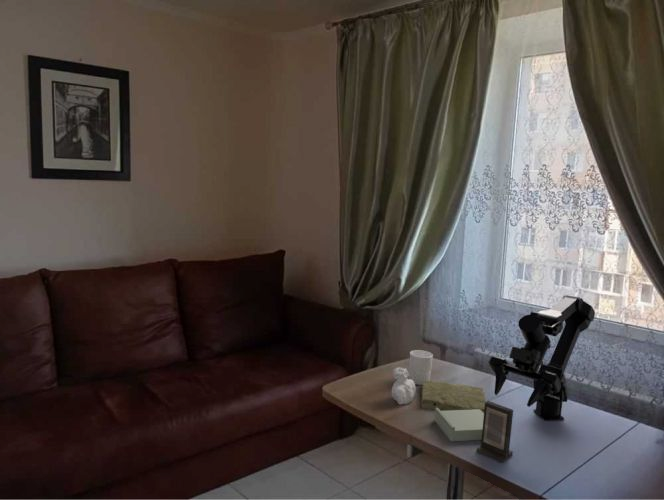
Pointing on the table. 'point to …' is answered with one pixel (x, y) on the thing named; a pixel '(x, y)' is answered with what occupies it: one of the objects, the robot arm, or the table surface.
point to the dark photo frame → (496, 432)
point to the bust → (403, 386)
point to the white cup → (420, 366)
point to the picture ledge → (460, 424)
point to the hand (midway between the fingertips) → (511, 400)
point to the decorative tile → (451, 396)
